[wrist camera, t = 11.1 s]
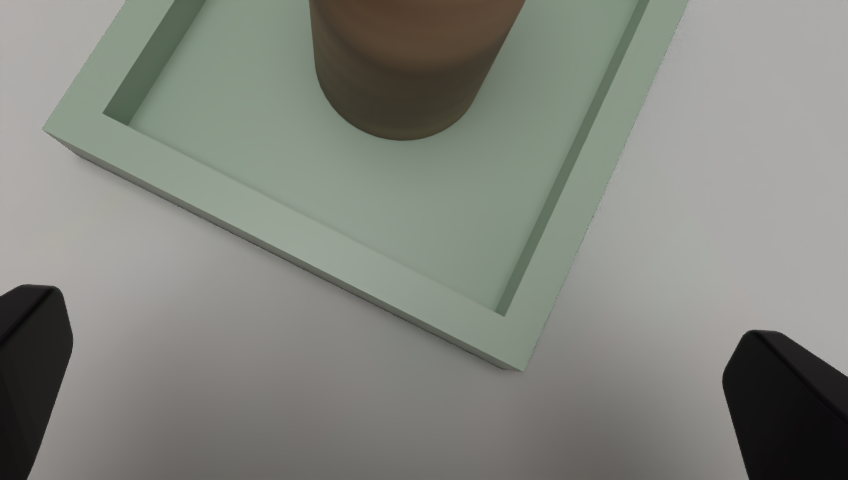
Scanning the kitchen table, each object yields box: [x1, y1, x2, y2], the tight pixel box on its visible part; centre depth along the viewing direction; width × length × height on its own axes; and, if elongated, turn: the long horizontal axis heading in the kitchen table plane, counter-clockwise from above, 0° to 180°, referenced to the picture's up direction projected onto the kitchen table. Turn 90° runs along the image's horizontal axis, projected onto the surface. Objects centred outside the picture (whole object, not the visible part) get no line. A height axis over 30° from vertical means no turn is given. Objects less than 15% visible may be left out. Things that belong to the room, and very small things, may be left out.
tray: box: [42, 0, 689, 372], centre depth 18 cm, size 13×13×2 cm
